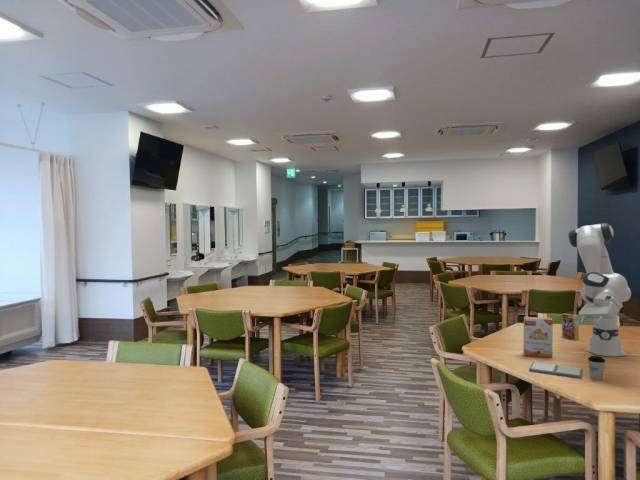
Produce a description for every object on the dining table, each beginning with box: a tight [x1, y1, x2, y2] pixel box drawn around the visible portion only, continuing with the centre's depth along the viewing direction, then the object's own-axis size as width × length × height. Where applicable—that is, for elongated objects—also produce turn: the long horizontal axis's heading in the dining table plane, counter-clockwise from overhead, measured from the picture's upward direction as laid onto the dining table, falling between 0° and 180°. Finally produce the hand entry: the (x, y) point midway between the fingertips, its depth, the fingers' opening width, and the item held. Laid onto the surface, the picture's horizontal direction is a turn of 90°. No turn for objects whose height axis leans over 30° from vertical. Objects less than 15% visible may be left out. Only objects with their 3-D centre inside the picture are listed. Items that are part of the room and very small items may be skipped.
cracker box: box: [523, 316, 554, 359], centre depth 246 cm, size 14×6×21 cm, turn 71°
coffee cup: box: [587, 355, 606, 381], centre depth 209 cm, size 7×7×10 cm
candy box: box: [561, 312, 580, 341], centre depth 283 cm, size 9×4×15 cm, turn 23°
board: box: [528, 361, 584, 379], centre depth 220 cm, size 14×22×1 cm, turn 57°
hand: (589, 324), depth 214 cm, fingers open, 8 cm apart
